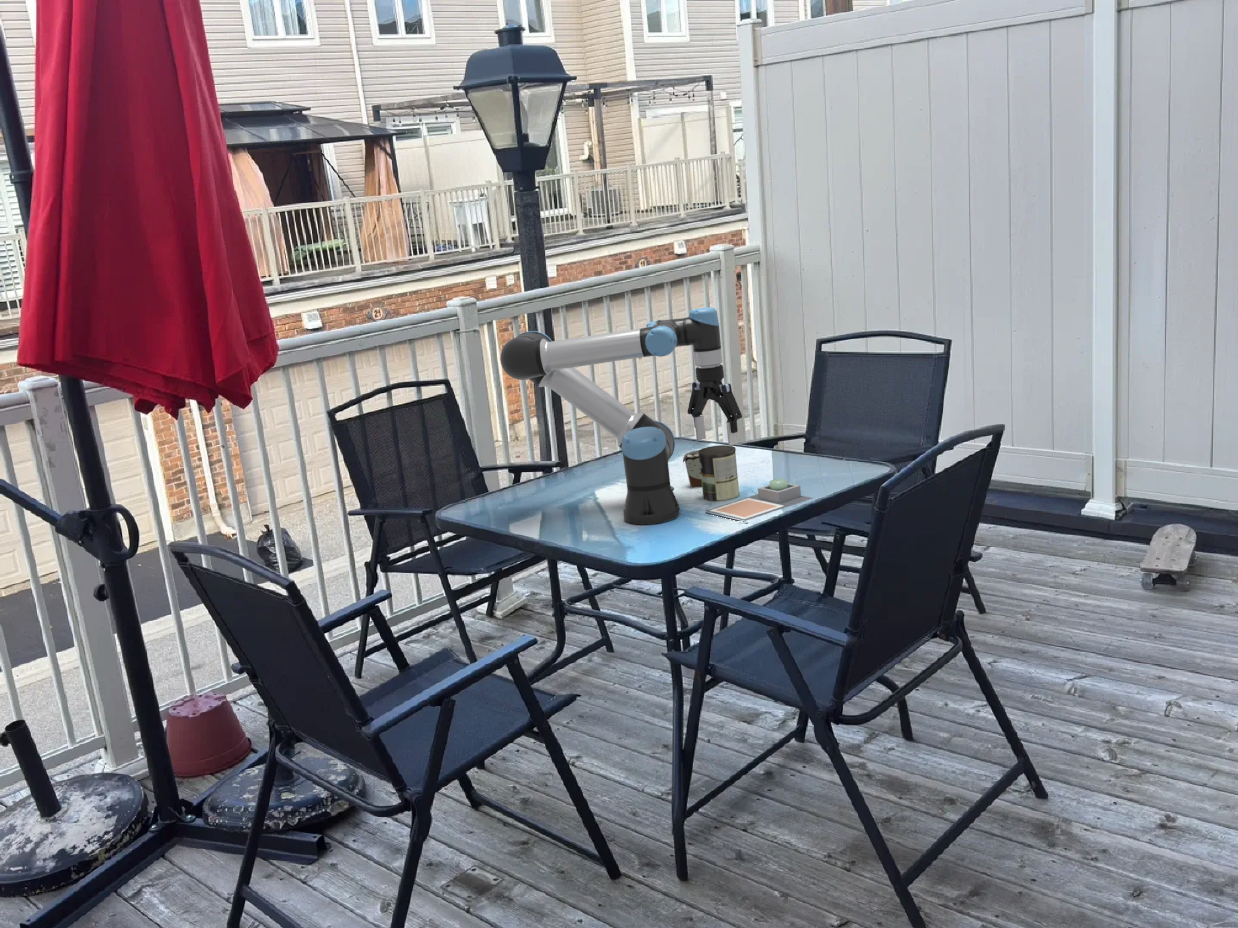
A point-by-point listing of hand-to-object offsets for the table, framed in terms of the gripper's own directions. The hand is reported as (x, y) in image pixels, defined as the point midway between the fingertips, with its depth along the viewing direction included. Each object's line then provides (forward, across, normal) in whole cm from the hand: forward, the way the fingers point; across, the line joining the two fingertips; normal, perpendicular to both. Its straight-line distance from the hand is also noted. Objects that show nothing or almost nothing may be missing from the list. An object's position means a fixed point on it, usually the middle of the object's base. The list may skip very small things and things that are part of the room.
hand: (717, 442), depth 298 cm
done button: (+14, -15, -7) cm, 22 cm away
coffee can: (+16, 0, 0) cm, 16 cm away
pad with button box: (+16, -15, 0) cm, 22 cm away
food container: (+16, +16, -8) cm, 24 cm away
